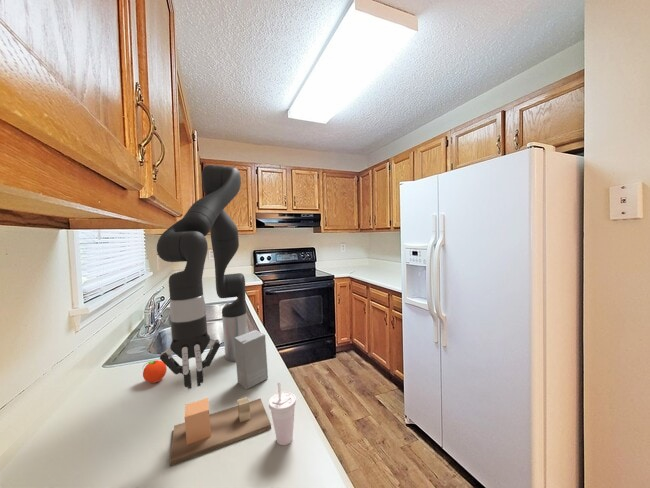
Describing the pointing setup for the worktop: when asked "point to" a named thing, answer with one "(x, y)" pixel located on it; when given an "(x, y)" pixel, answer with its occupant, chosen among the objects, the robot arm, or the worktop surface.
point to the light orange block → (197, 421)
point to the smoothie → (283, 415)
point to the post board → (222, 430)
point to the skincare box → (251, 358)
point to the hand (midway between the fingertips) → (194, 385)
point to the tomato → (154, 371)
